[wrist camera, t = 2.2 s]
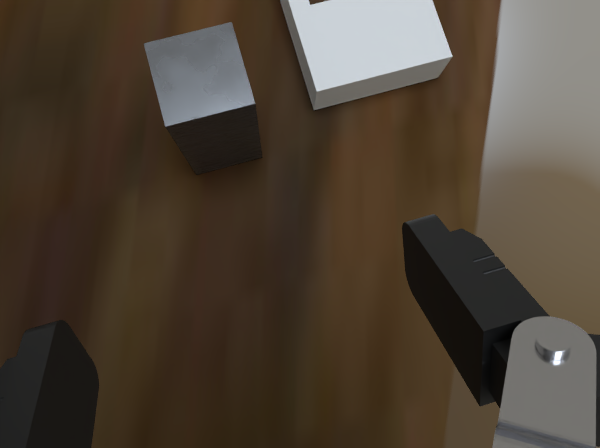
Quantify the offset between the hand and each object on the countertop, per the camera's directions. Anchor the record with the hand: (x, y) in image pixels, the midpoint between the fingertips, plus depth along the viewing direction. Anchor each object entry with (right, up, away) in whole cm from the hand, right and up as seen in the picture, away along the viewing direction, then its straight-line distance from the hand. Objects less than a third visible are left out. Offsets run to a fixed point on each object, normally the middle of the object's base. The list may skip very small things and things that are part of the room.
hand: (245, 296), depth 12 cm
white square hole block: (+4, +19, +24) cm, 31 cm away
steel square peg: (-4, +8, +22) cm, 24 cm away
